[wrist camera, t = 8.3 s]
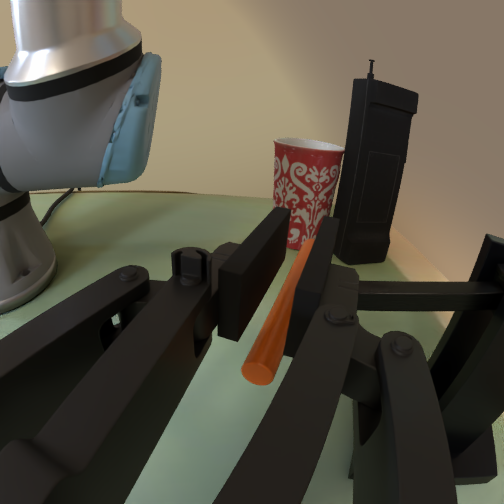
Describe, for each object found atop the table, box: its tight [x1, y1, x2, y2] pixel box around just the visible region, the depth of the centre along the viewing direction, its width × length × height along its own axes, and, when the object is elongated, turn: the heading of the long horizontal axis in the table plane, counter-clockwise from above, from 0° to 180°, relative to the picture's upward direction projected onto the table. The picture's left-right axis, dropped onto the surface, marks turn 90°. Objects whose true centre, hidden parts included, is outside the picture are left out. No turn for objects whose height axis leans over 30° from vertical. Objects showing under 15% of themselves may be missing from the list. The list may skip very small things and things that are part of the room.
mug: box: [273, 138, 345, 250], centre depth 41 cm, size 13×9×14 cm
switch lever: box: [241, 239, 504, 385], centre depth 12 cm, size 14×11×2 cm
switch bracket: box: [348, 234, 504, 485], centre depth 13 cm, size 11×9×14 cm
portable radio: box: [333, 60, 418, 265], centre depth 34 cm, size 8×6×25 cm
